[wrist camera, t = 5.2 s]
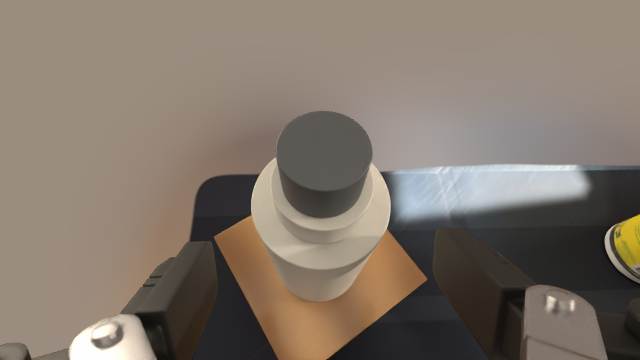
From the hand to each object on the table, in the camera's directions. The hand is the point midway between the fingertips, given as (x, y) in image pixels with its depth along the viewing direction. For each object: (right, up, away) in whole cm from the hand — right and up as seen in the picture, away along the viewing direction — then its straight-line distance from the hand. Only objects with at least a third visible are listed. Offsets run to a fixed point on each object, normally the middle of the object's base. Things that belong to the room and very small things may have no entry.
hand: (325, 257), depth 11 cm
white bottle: (0, -2, +9) cm, 9 cm away
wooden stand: (0, -7, +17) cm, 18 cm away
